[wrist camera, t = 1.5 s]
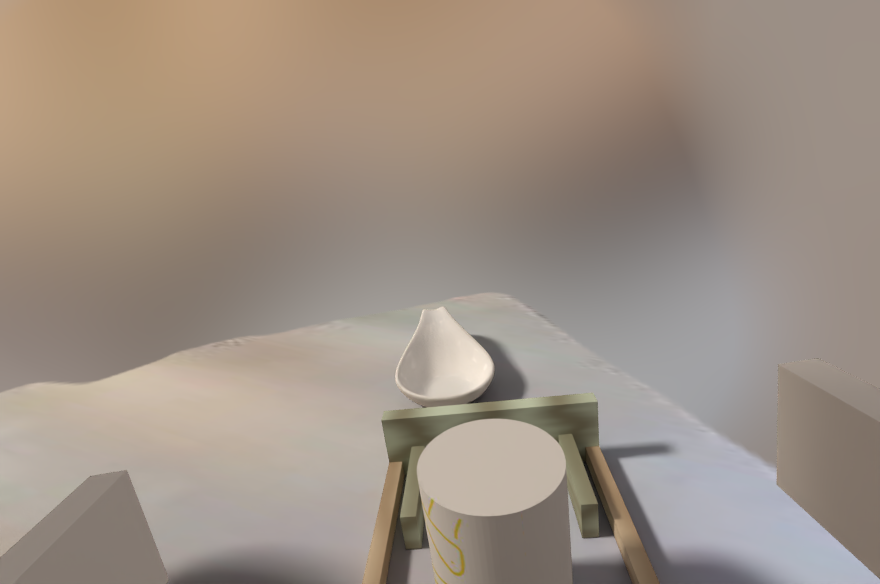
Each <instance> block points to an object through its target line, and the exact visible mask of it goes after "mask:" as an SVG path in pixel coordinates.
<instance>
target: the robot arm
mask: <svg viewBox="0 0 880 584" xmlns="http://www.w3.org/2000/svg"><path fill="white" fill-rule="evenodd" d="M777 485H778V486H779V487H780V488H781V489H782V490H783V491H784V492H785V493H786V494H788V495H789V496H790V497H791V498H792V499H793V500H794V501H795V502H796V503H797V504H798V505H800V506H801V507H802V508H803V509H804V510H805V511H806V512H807V513H808V514H809V515H810V516H812V517H813V518H814V519H815V520H816V521H817V522H818V523H819V524H820V525H821V526H822V527H824V528H825V529H826V530H827V531H828V532H829V533H830V534H831V535H832V536H833V537H834V538H836V539H837V540H838V541H839V542H840V543H841V544H842V545H843V546H844V547H845V548H846V549H848V550H849V551H850V552H851V553H852V554H853V555H854V556H855V557H856V558H857V559H858V560H860V561H861V562H862V563H863V564H864V565H865V566H866V567H867V568H868V569H869V570H870V571H872V572H873V573H874V574H875V575H876V576H877V577H878V578H879V579H880V388H877V387H875V386H873V385H871V384H869V383H867V382H865V381H863V380H861V379H859V378H857V377H855V376H853V375H851V374H849V373H847V372H845V371H843V370H841V369H839V368H837V367H835V366H833V365H831V364H829V363H827V362H824V361H823V360H821V359H819V358H814V359H808V360H802V361H796V362H790V363H784V364H778V417H777ZM168 581H169V577H168V575H167V572H166V570H165V567H164V565H163V562H162V559H161V557H160V554H159V552H158V549H157V547H156V544H155V541H154V539H153V536H152V534H151V531H150V528H149V526H148V523H147V521H146V518H145V516H144V513H143V510H142V508H141V505H140V503H139V500H138V498H137V495H136V492H135V490H134V487H133V485H132V482H131V480H130V477H129V474H128V472H127V470H125V471H119V472H113V473H107V474H100V475H94V476H90V477H89V478H88V479H87V480H85V481H84V482H83V483H82V484H81V485H80V486H79V487H78V488H77V489H75V490H74V491H73V492H72V493H71V494H70V495H69V496H68V497H67V498H66V499H64V500H63V501H62V502H61V503H60V504H59V505H58V506H57V507H56V508H55V509H53V510H52V511H51V512H50V513H49V514H48V515H47V516H46V517H45V518H43V519H42V520H41V521H40V522H39V523H38V524H37V525H36V526H35V527H34V528H32V529H31V530H30V531H29V532H28V533H27V534H26V535H25V536H24V537H22V538H21V539H20V540H19V541H18V542H17V543H16V544H15V545H14V546H13V547H11V548H10V549H9V550H8V551H7V552H6V553H5V554H4V555H3V556H1V557H0V584H167V582H168Z"/></svg>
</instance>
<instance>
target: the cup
mask: <svg viewBox="0 0 880 584" xmlns="http://www.w3.org/2000/svg"><path fill="white" fill-rule="evenodd" d="M417 477H418V483H419V489H420V495H421V501H422V507H423V512H424V518H425V524H426V530H427V536H428V542H429V548H430V553H431V559H432V565H433V571H434V577H435V583H436V584H573V577H572V560H571V542H570V525H569V508H568V490H567V473H566V459H565V455H564V452H563V450H562V448H561V446H560V445H559V443H558V442H557V441H556V440H555V439H554V438H553V437H552V436H551V435H549V434H548V433H547V432H545V431H544V430H542V429H540V428H538V427H536V426H533V425H531V424H528V423H525V422H521V421H516V420H510V419H482V420H476V421H471V422H467V423H463V424H460V425H457V426H455V427H452V428H450V429H448V430H446V431H445V432H443V433H441V434H440V435H438V436H437V437H436V438H434V439H433V440H432V441H431V442H430V443H429V444H428V445H427V446H426V447H425V449H424V450H423V452H422V453H421V455H420V457H419V460H418V464H417Z"/></svg>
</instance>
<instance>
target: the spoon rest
mask: <svg viewBox="0 0 880 584" xmlns="http://www.w3.org/2000/svg"><path fill="white" fill-rule="evenodd" d="M494 372H495V367H494V363H493V360H492V358H491V357H490V355H489V354H488V352H487V351H486V350H485V349H484V348H483V347H482V346H481V345H480V344H479V343H478V342H477V341H476V340H475V339H474V338H473V337H472V336H471V335H470V334H469V333H468V332H467V331H466V330H464V328H463V327H461V326H460V324H459V323H458V322H457V321H456V320H455V319H454V318H453V317H452V316H451V315H450V314H449V312H448V311H447V309H446V308H445V307H441V308H438V309H435V310H427V309H424V310H423V311H422V315H421V319H420V322H419V325H418V327H417V329H416V331H415V333H414V335H413V337H412V339H411V341H410V342H409V344H408V346H407V348H406V349H405V351H404V353H403V355H402V357H401V359H400V361H399V364H398V367H397V369H396V374H395V381H396V384H397V386H398V388H399V389H400V390H401V392H402V393H403V394H404V395H405V396H406V397H407V398H409V399H410V400H412V401H413V402H415V403H417V404H419V405H421V406H424V407H438V406H449V405H460V404H467V403H470V402H472V401H473V400H475V399H476V398H478V397H479V396H480V395H482V394H483V393H484V392H485V390H486V389H487V388H488V386H489V385H490V383H491V381H492V379H493V376H494Z"/></svg>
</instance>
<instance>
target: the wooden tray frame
mask: <svg viewBox="0 0 880 584" xmlns="http://www.w3.org/2000/svg"><path fill="white" fill-rule="evenodd" d="M482 419H510V420H516V421H521V422H525V423H528V424H531V425H533V426H536V427H538V428H540V429H542V430H544V431H545V432H547V433H548V434H549V435H551V436H552V437H553V438H554V439H555V440H556V441H557V442H558V443H559V445H560V446H561V448H562V450H563V452H564V455H565V459H566V473H567V488H568V491H569V494H570V498H571V501H572V505H573V508H574V511H575V515H576V518H577V521H578V525H579V528H580V531H581V535H582V538H590V537H599V519H598V502H597V500H596V497H595V494H594V492H593V489H592V486H591V484H590V481H589V478H588V475H587V473H586V470H585V467H584V465H583V462H582V461H586V463H587V465H588V468H589V471H590V473H591V476H592V478H593V481H594V484H595V486H596V489H597V492H598V494H599V497H600V499H601V502H602V505H603V507H604V510H605V513H606V515H607V518H608V520H609V523H610V526H611V528H612V531H613V534H614V536H615V539H616V541H617V544H618V547H619V549H620V552H621V555H622V557H623V560H624V562H625V565H626V568H627V570H628V573H629V576H630V578H631V581H632V584H660V583H659V581H658V578H657V576H656V574H655V571H654V569H653V567H652V565H651V562H650V560H649V558H648V556H647V553H646V551H645V549H644V547H643V544H642V542H641V540H640V538H639V535H638V533H637V531H636V528H635V526H634V524H633V522H632V519H631V517H630V515H629V513H628V510H627V508H626V506H625V504H624V501H623V499H622V497H621V495H620V492H619V490H618V488H617V485H616V483H615V481H614V479H613V476H612V474H611V472H610V470H609V467H608V465H607V463H606V461H605V458H604V456H603V454H602V452H601V449H600V447H599V430H598V401H597V400H596V398H595V396H594V394H593V393H585V394H573V395H562V396H551V397H540V398H528V399H517V400H506V401H494V402H483V403H472V404H460V405H449V406H438V407H426V408H415V409H404V410H393V411H384V413H383V417H382V420H381V421H382V426H383V431H384V437H385V442H386V447H387V452H388V458H389V467H388V471H387V476H386V480H385V484H384V489H383V493H382V498H381V502H380V506H379V511H378V515H377V520H376V524H375V529H374V533H373V537H372V542H371V546H370V551H369V555H368V559H367V564H366V568H365V573H364V577H363V582H362V584H386V580H387V574H388V569H389V563H390V557H391V551H392V545H393V540H394V534H395V528H396V522H397V517H398V511H399V505H400V499H401V493H402V488H403V482H404V476H405V475H407V478H406V484H405V490H404V496H403V502H402V508H401V514H400V521H401V526H402V531H403V537H404V542H405V547H406V549H418V548H422V539H423V529H424V519H425V518H424V512H423V507H422V501H421V495H420V489H419V483H418V477H417V464H418V460H419V457H420V455H421V453H422V452H423V450H424V449H425V447H426V446H427V445H428V444H429V443H430V442H431V441H432V440H433V439H434V438H436V437H437V436H438V435H440V434H441V433H443V432H445V431H446V430H448V429H450V428H452V427H455V426H457V425H460V424H463V423H467V422H471V421H476V420H482Z"/></svg>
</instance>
